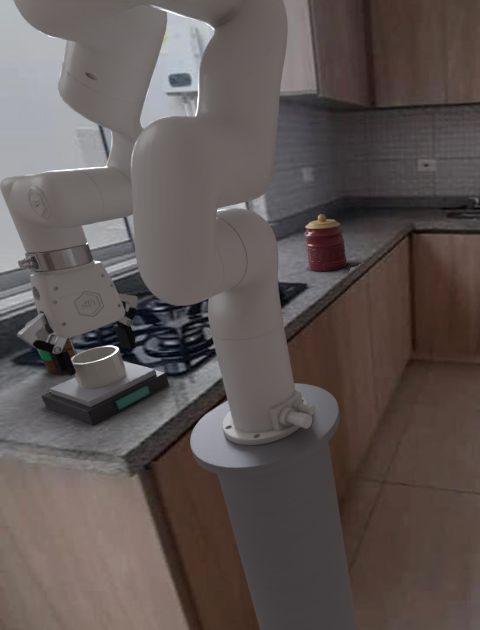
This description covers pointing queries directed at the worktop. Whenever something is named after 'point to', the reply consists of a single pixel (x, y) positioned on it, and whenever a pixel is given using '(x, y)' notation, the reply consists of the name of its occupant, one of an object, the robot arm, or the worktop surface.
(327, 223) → the kitchen canister
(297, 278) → the worktop surface
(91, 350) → the bowl
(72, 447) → the worktop surface
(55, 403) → the scale
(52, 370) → the food container
